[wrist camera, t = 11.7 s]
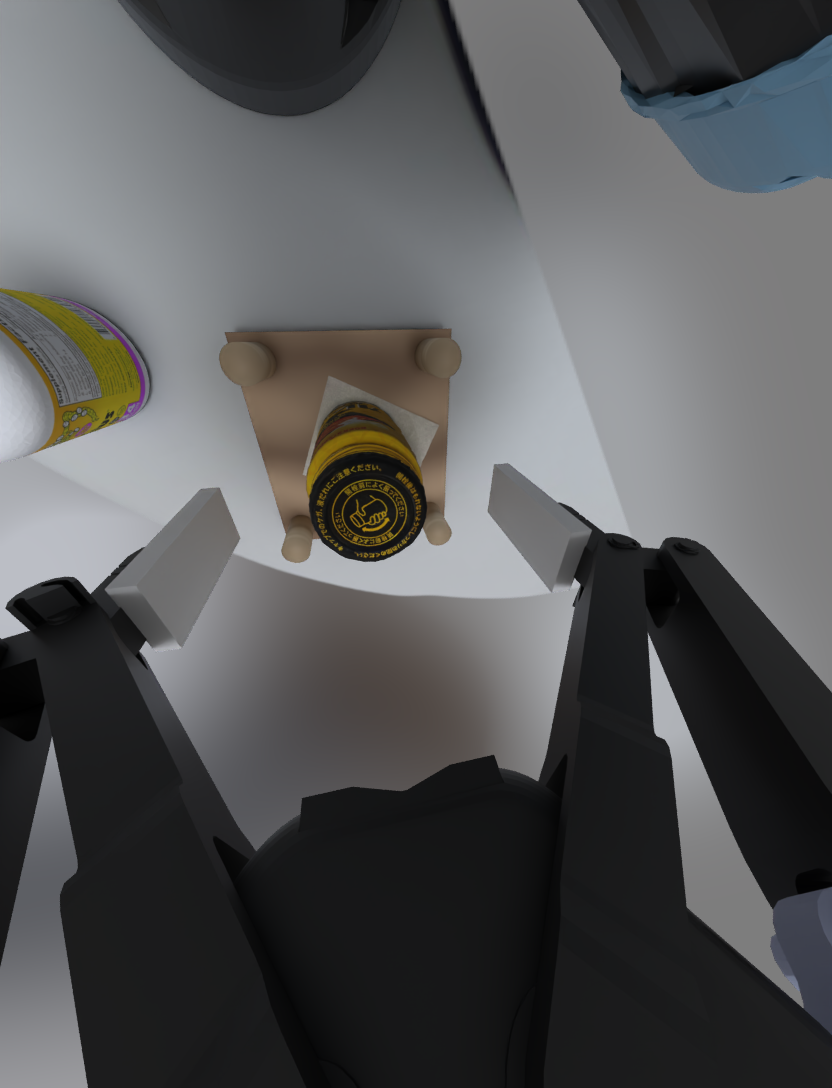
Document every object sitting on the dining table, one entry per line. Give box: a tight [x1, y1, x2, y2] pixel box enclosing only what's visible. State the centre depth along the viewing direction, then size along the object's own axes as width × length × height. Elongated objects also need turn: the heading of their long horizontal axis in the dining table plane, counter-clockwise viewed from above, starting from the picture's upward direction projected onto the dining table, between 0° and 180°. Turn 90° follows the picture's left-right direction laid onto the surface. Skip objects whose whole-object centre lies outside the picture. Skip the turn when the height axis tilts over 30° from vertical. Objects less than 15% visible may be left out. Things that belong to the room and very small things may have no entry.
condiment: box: [303, 376, 439, 562], centre depth 19 cm, size 7×8×12 cm
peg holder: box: [219, 329, 461, 563], centre depth 22 cm, size 15×14×6 cm
